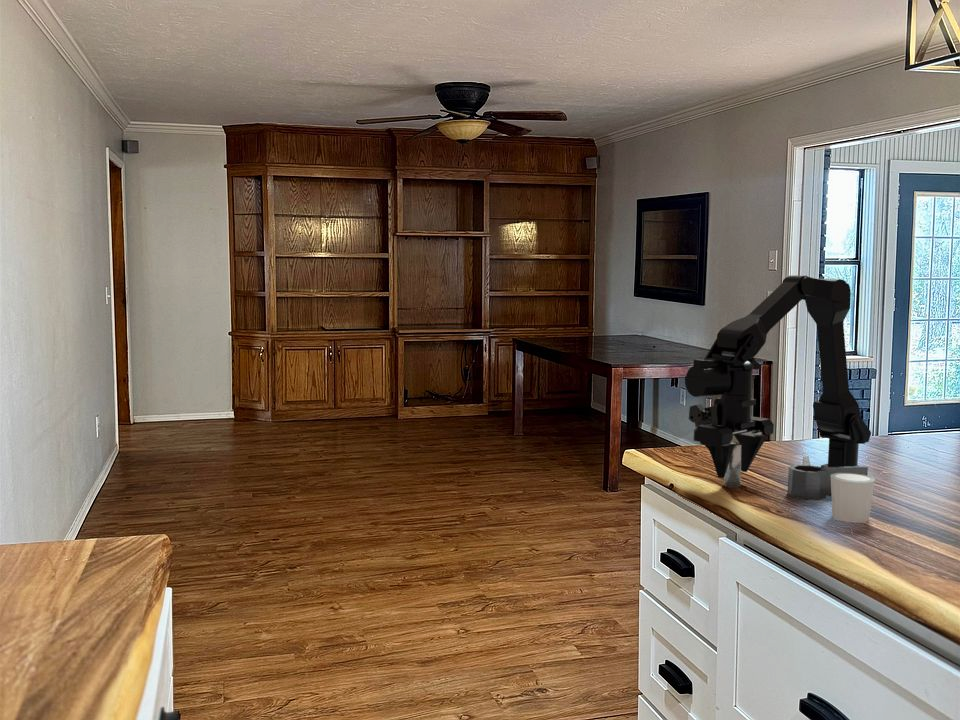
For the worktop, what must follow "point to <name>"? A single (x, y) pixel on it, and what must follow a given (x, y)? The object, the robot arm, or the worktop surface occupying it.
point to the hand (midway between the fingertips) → (732, 474)
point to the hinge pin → (734, 467)
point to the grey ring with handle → (815, 479)
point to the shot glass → (851, 496)
